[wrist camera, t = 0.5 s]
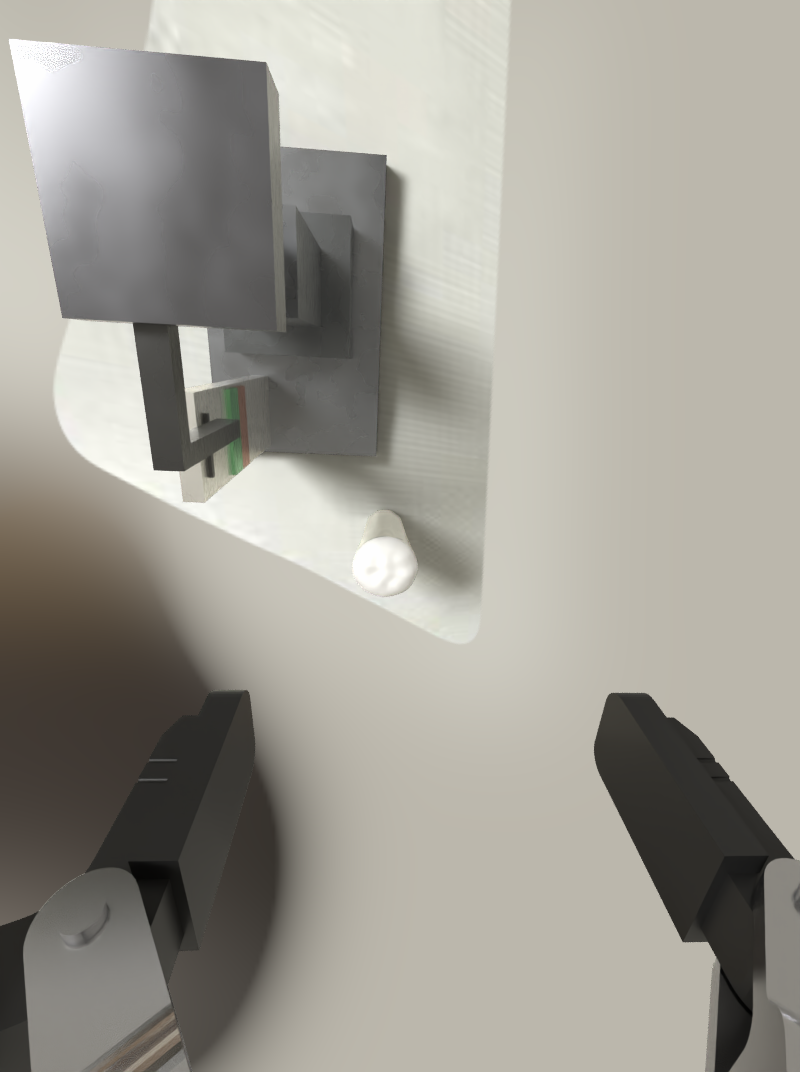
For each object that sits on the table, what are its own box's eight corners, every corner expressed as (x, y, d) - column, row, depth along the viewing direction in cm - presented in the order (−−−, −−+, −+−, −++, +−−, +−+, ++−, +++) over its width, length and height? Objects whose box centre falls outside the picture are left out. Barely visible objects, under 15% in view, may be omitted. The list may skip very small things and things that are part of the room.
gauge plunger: (191, 192, 22) (8, 39, 11) (321, 201, 22) (266, 62, 11) (212, 422, 26) (92, 473, 15) (322, 427, 26) (282, 481, 15)
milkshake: (420, 501, 39) (433, 548, 30) (401, 557, 41) (407, 617, 32) (368, 486, 39) (365, 528, 29) (351, 543, 40) (342, 600, 31)
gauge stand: (199, 149, 30) (21, -50, 15) (386, 164, 31) (392, -12, 16) (224, 445, 37) (119, 509, 22) (376, 452, 38) (373, 518, 23)
